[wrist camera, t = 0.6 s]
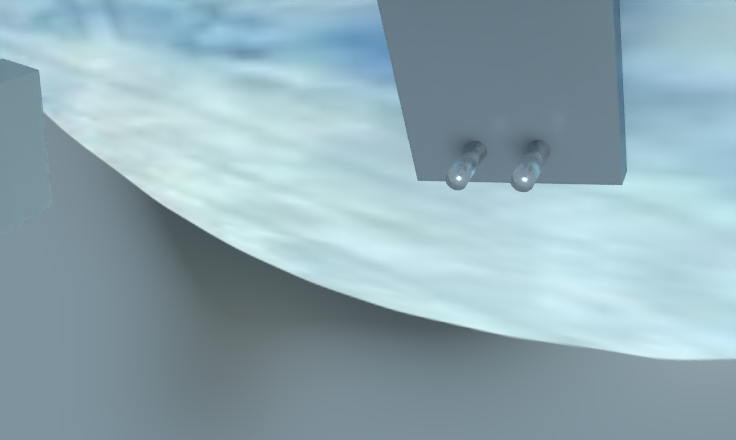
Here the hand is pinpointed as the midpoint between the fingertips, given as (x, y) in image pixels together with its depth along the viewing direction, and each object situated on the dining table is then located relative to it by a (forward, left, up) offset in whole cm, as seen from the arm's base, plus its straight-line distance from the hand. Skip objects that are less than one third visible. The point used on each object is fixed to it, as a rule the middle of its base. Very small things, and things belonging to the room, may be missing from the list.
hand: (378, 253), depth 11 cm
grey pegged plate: (+7, +5, -26) cm, 27 cm away
